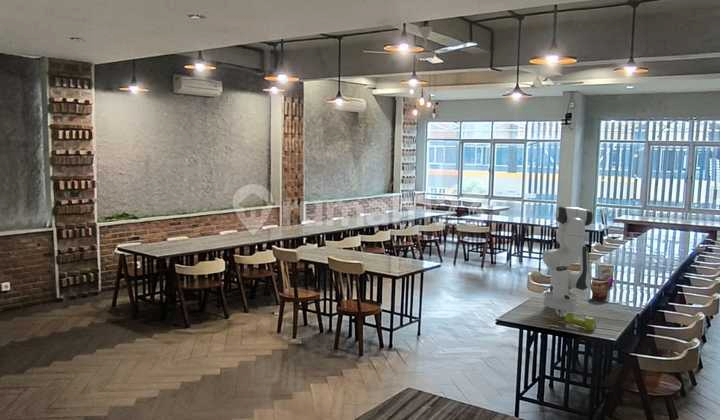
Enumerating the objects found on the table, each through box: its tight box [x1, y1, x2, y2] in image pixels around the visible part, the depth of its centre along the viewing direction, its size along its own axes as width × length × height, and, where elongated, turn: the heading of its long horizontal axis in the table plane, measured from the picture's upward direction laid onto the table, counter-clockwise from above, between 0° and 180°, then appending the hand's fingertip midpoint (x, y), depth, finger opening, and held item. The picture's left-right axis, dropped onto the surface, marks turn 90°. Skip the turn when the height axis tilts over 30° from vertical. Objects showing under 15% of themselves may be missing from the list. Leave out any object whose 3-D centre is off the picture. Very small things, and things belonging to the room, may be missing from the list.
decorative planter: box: [589, 278, 610, 302], centre depth 404 cm, size 20×12×14 cm, turn 150°
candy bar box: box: [596, 263, 615, 287], centre depth 446 cm, size 11×5×16 cm, turn 72°
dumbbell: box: [564, 312, 596, 332], centre depth 336 cm, size 16×8×7 cm, turn 44°
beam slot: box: [542, 313, 597, 333], centre depth 342 cm, size 14×26×2 cm, turn 41°
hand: (559, 316), depth 347 cm, fingers closed
